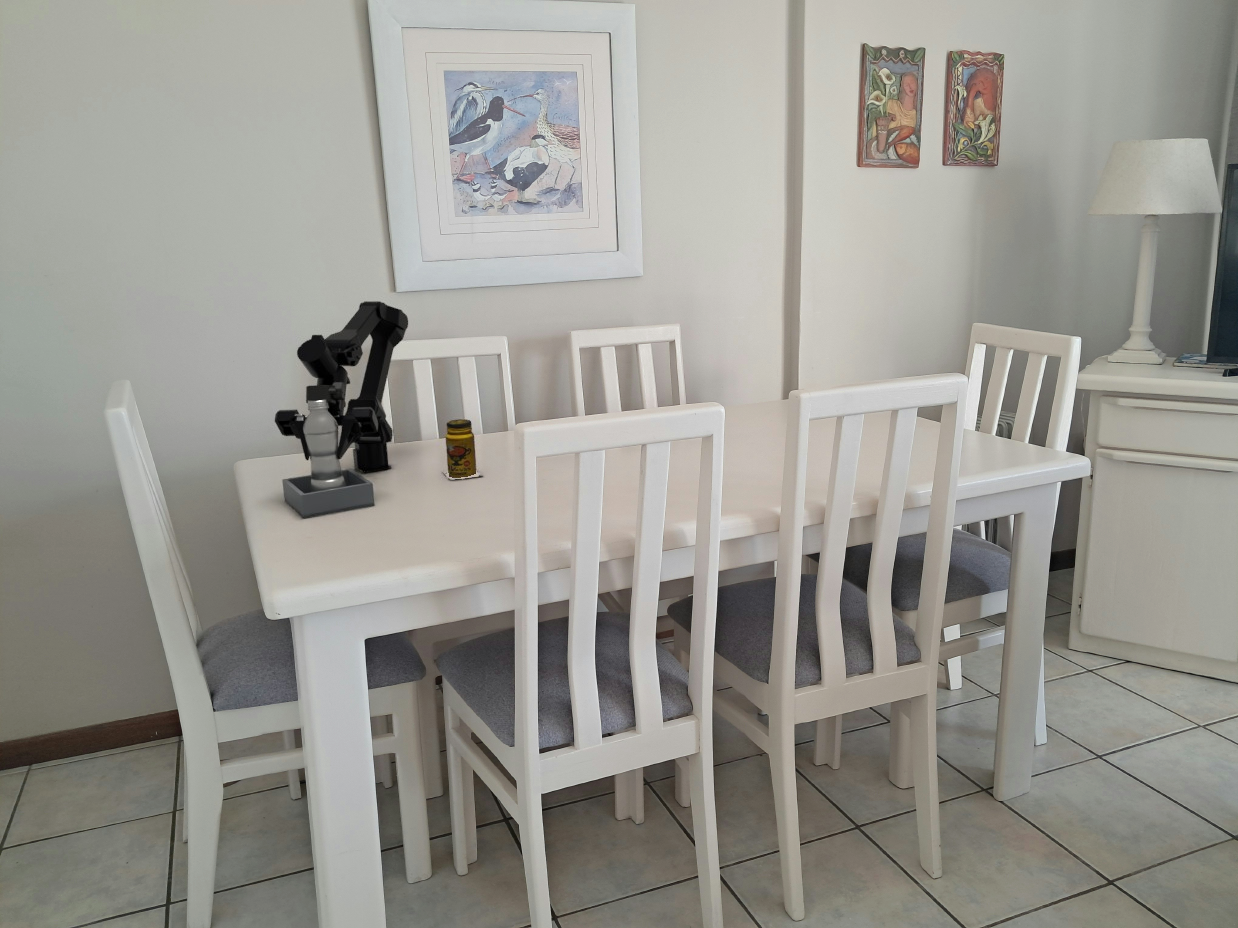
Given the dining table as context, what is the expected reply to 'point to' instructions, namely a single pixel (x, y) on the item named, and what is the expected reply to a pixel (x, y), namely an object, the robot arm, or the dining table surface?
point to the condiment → (460, 449)
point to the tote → (328, 495)
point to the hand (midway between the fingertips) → (322, 458)
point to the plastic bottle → (323, 447)
